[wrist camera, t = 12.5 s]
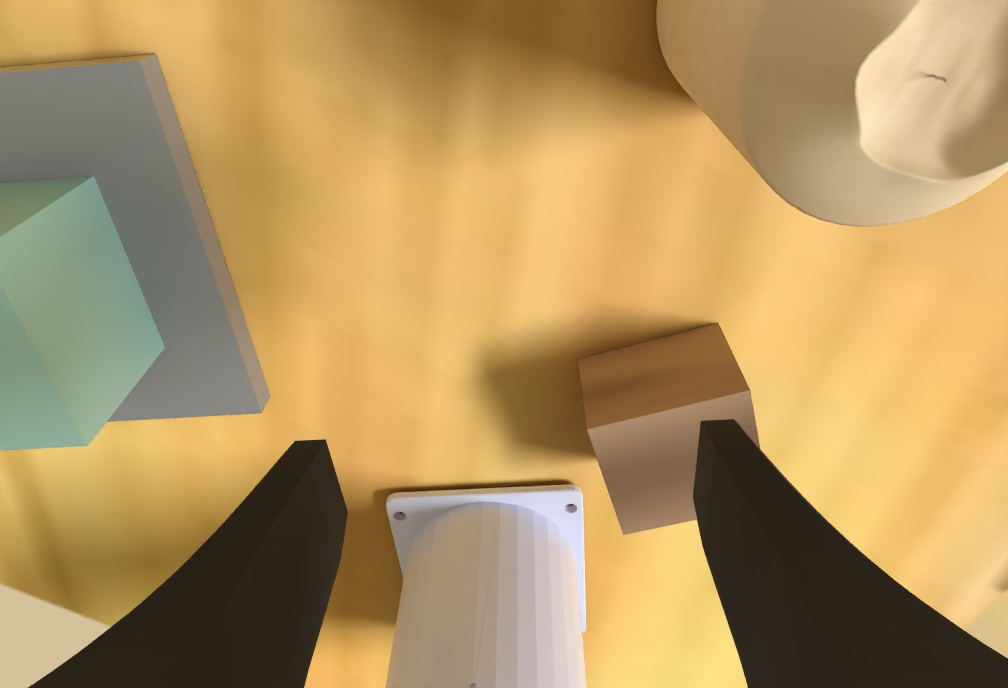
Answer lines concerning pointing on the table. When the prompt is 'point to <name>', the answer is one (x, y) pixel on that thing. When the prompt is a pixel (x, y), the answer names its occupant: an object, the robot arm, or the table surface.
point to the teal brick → (66, 315)
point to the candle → (851, 97)
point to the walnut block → (660, 419)
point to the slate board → (141, 220)
